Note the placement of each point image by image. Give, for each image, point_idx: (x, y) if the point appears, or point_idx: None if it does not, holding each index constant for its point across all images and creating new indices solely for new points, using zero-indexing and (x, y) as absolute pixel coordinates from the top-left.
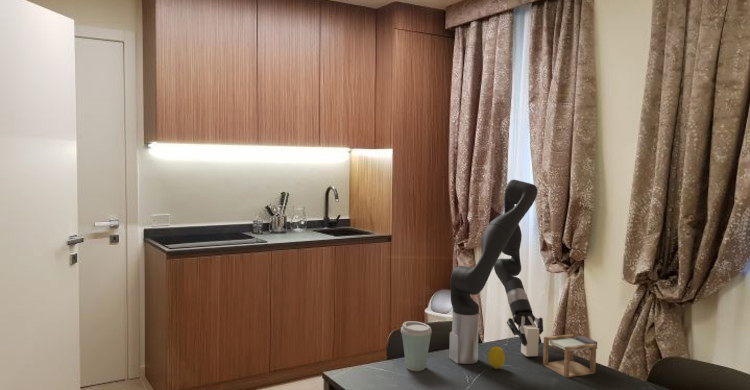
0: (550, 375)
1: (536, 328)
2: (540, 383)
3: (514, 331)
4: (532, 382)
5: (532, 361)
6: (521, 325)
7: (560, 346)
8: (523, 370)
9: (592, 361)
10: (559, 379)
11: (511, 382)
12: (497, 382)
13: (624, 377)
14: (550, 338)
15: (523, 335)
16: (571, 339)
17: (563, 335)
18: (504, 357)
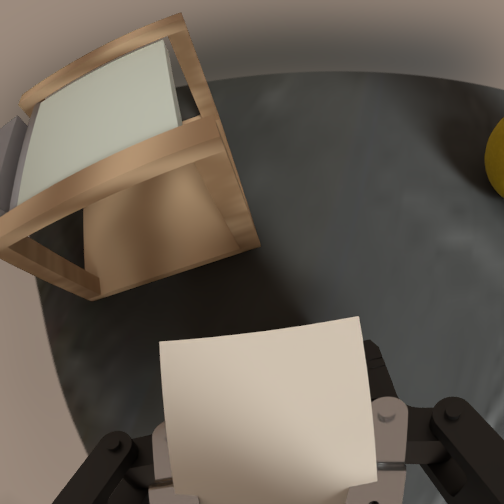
0: (275, 125)
1: (195, 355)
2: (339, 71)
3: (448, 464)
4: (367, 77)
5: (305, 301)
6: (401, 481)
7: (170, 73)
8: (388, 170)
9: None
10: (254, 98)
11: (436, 82)
12: (475, 88)
13: None
14: (166, 138)
15: (372, 384)
16: (31, 184)
17: (35, 207)
18: (493, 132)
